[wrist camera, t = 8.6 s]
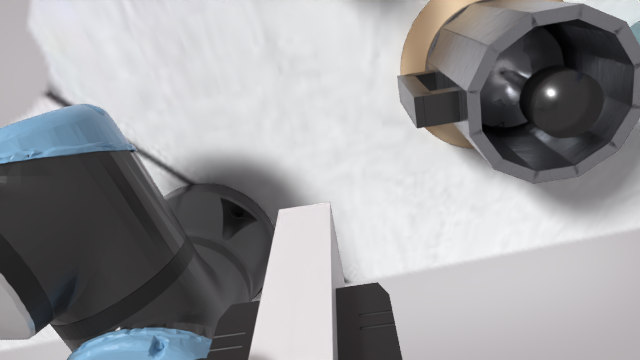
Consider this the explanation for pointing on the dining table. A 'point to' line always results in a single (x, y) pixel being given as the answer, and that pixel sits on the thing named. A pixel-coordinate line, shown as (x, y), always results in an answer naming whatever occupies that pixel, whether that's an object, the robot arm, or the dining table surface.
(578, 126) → the plunger
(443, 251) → the dining table surface
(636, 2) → the dining table surface
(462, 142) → the trivet
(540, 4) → the carafe
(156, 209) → the robot arm
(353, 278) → the dining table surface
